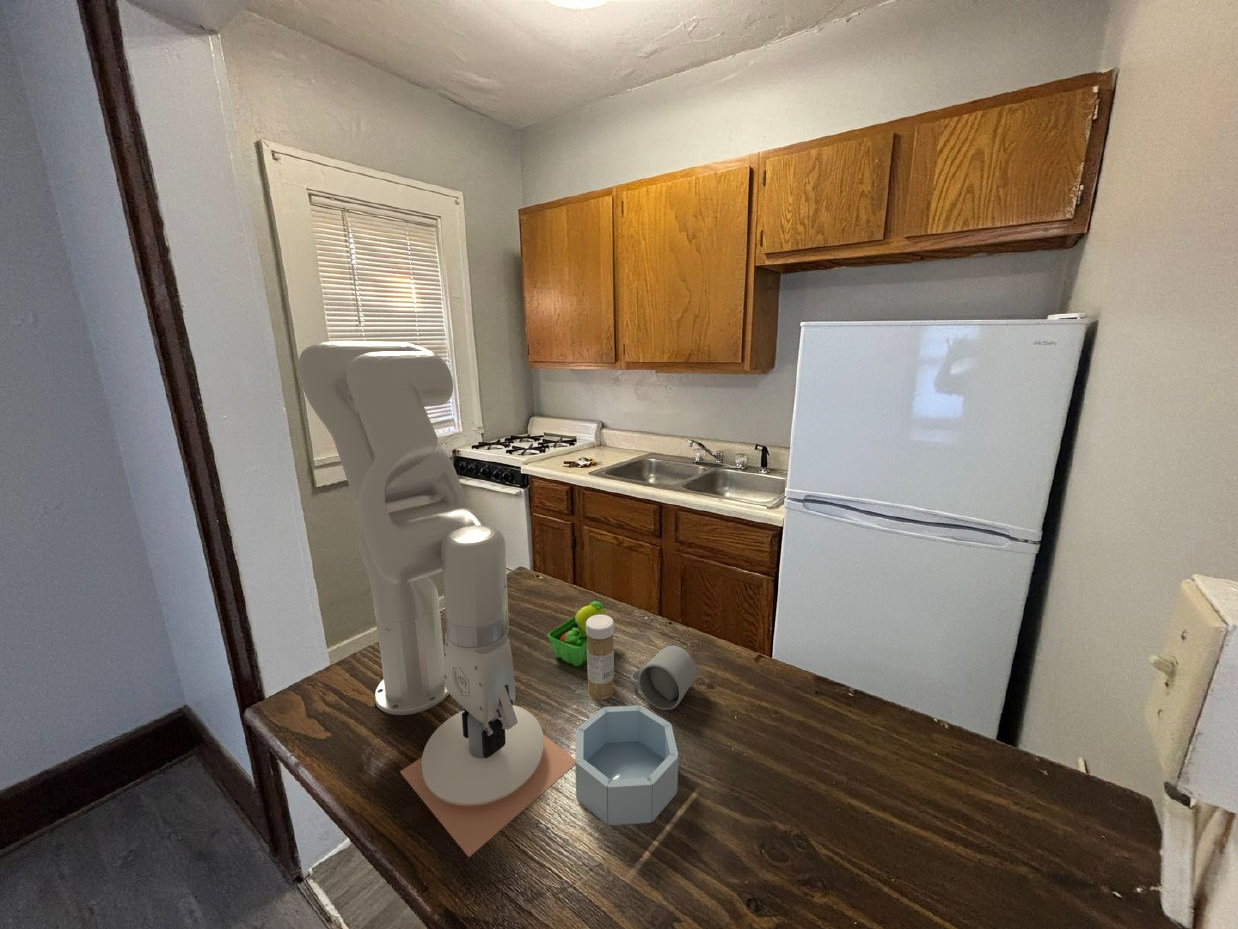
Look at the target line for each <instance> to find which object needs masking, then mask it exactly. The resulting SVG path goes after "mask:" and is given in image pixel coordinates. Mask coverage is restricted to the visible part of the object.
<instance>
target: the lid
mask: <svg viewBox="0 0 1238 929" xmlns="http://www.w3.org/2000/svg"><path fill="white" fill-rule="evenodd" d="M512 707H513V710H514V712H515V715H516V718H517V721H518V723H517V724H516V725H514V726H513V727H511V728H510V729H505V742H506V743H505V745H504V746H503V747H502V748H501V749H500V750H498V751H497V752H495V753H494V754H492V755H491V756H490V757H488V758H485V757H484V756H483V748H482V732H483V731H484V730H485V729H484V723H482V722H480V721H478V720H477V719H476V718H474V717H473V716H472V715H471V714H470V713H469V714H468V717H467V722H468V738H465V737H464V736H463V725H462V713H463V712H464V711H461V710H460V711H459V712H458V713H456V714H454V715H452V716H451V717H449V718H448V719H447V720H445V721H444V722H443V723H442V724H440V726H438V728H436V730H434V732H433V733H432V734H431V736H429V737H430V738H429V739H427V740H428V741H427V743H426V745H425V746H424V749H423V752H422V756H421V758H422V774H423V779H424V781H425V784H426V786H427V787H428V789H429V790H430V791H431V792H432V793H433V794H434V795H435V796H436V797H438V798H439V799H441V800H443V801H445V802H447V803H450V804H454V805H460V806H477V805H483V804H488V803H491V802H494V801H497V800H500V799H502V798H504V797H506V796H508V795H510V794H511V793H513V792H515V791H516V790H517V789H519V788H520V787H521V786H522V785H523V784H524V783H526V782H527V781H528V779H529V778H530V777H531V776H532V775H533V773H534V772H535V770H536V769H537V767H538V765H539V763H540V761H541V758H542V754H543V747H544V738H543V734H544V732H543V728H542V726H541V724H540V723H539V720H538V719H537V717H535V716H534V715H533V714H532V713H531V712H529V711H528V710H526V709H525V708H522V707H520V706H518V705H515V704H514V705H513V706H512ZM497 718H499V717H498V712H496V714H495V717H494V719H492V720H491V721H492V722H493V721H494V720H496V719H497Z"/></svg>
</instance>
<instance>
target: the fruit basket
mask: <svg viewBox="0 0 1238 929" xmlns="http://www.w3.org/2000/svg"><path fill="white" fill-rule="evenodd" d="M594 615H605V610H604V605H603V603H602V602H600V601H597V600H596V601H591V602H590V603H589V604H588V605H586V606H583V607H581V608H580V609H579V610H578V611H577V612H576V614H575V616H573V617H572V618H570V619H569V620H567V621H565V622H564V623H562V624H561V625H559V626H558V627H556V628H555V629H553V630H551V631H550V632H548V633H547V637H548V640H549V641H550V644H551V647H552V650H553V651H554V652H553V653H554V655H555V657H556V658H558V659H561V660H562V661H564V662H566V663H567V664H572V666H574V667H580V666H581V665H583V663H584V662H587V634H586V621H587V620H588V619H589V618H590V617H592V616H594Z"/></svg>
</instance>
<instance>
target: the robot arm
mask: <svg viewBox="0 0 1238 929" xmlns="http://www.w3.org/2000/svg"><path fill="white" fill-rule="evenodd" d="M298 375H299V379H300V383H301V388H302V390H303V393H304V395H305V397H306V399H307V401H308V403H309V405H310V407H312V408H311V409H312V410H313V411H314V412H315V414H316V415H317V417H318V419H320V421H321V422H322V423H323V425H324V426H325V428H326V429H327V431H328V432H329V434H330V436H331V437H332V439H333V442H334V445H335V448H336V451H337V454H338V457H339V461H340V463H341V466H342V470H343V472H344V475H345V478H346V481H347V482H348V486H349V488H350V491H351V494H352V495H353V498H354V499H355V501H356V502H357V504H358V508H357V510H358V517H359V524H360V530H359V533H358V538H357V543H358V549H359V554H360V556H361V560H362V562H363V564H364V568H365V571H366V575H367V578H368V581H369V586H370V592H371V597H372V603H373V610H374V615H375V623H376V624H375V625H376V632H377V637H378V639H377V640H378V645H379V654H380V661H381V662H380V663H381V668H382V678H383V679H382V680H381V681H380V683H379V684H378V686H377V687H376V688H375V693H374V701H375V704H376V707H377V708H378V709H379V710H380V711H382V712H384V713H385V714H388V715H394V716H406V715H414V714H417V713H420V712H424V711H426V710H430V709H431V708H433V707H434V706H437V705H438V704H440V703H441V702H442V701H444V700H445V699H446V698H447V697H448V696H449V695H450V696H451V697H452V698H453V699H454V701H456V702H457V703H458V707H459V710H460V712H461V711H464V712H463V713H462V725H463V736H464V737H465V738H468V722H467V717H468V714H469V713H470V714H471V715H472V716H473V717H474V718H476V719H477V720H478V721H480V722H482V723H484V729H485V730H484V731H483V732H482V748H483V756H484V757H485V758H488V757H490V756H491V755H492V754H494V753H495V752H497V751H498V750H500V749H501V748H502V747H503V746H504V745H505V743H506V742H505V729H510V728H511V727H513V726H514V725H516V724H517V723H518V721H517V718H516V715H515V712H514V710H513V707H512V706H513V705H515V699H516V681H515V670H514V669H515V668H514V661H513V660H514V659H513V654H512V653H513V652H512V649H511V644H510V643H511V642H510V638H509V636H508V634H509V606H508V583H507V582H508V577H507V575H508V574H507V553H506V550H507V546H506V541H505V537H504V535H503V534H502V532H501V531H500V530H498V529H497V528H494V527H493V526H492V527H491V526H488V525H487V523H486V522H485V521H484V519H483V518H482V517H481V515H479V514H478V512H476V511H475V510H473V509H471V507H470V504H469V502H468V500H467V497H466V495H465V492H464V489H463V487H462V484H461V482H460V479H459V477H458V474H457V471H456V468H455V467H454V464H453V462H452V459H451V458H450V456H449V455H448V453H447V452H446V451H445V450H444V449H443V448H442V447H441V446H439V445H438V444H439V439H438V436H437V433H436V431H435V428H434V427H433V425H432V422H431V419H430V418H429V415H428V412H427V411H426V408H427V407H436V406H442V405H445V404H447V403H448V402H449V400H450V399H451V397H452V395H453V393H454V380H453V375H452V372H451V370H450V368H449V366H448V364H447V363H446V362H445V360H444V359H443V358H442V357H441V356H440V355H439V354H437V353H436V352H434V351H432V350H429V349H426V348H424V347H421V346H417V345H415V344H413V343H409V342H403V341H401V342H400V341H365V340H364V341H362V340H361V341H359V340H354V341H353V340H335V341H333V340H332V341H325V342H319V343H315V344H311V345H309V346H308V347H305V348H304V349H303V350H302V352H301V353H300V354H299V359H298ZM422 500H425V501H426V502H427V503H426V504H421V505H417V506H415V505H414V506H412V507H411V506H410V507H406V508H402V509H397V510H394V511H389V509H388V508H389V507H393V506H398V505H404V504H407V503H412V502H417V501H418V502H419V501H422ZM441 572H442V584H443V585H442V586H443V597H444V611H445V612H444V613H445V623H446V624H445V625H446V630H445V638H444V641H443V632H442V631H443V629H442V620H441V611H440V608H441V607H440V601H439V593H438V589H437V586H436V584H435V582H434V581H433V580H432V579H431V578H429V576H432V575H436V574H439V573H441ZM496 712H498V717H499V718H497V719H496V720H494V721H493V722H492V721H491V720H492V719H494V717H495V714H496Z"/></svg>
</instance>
